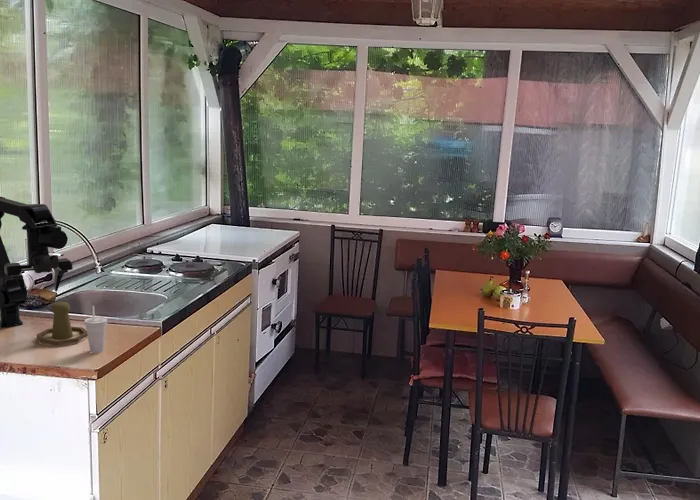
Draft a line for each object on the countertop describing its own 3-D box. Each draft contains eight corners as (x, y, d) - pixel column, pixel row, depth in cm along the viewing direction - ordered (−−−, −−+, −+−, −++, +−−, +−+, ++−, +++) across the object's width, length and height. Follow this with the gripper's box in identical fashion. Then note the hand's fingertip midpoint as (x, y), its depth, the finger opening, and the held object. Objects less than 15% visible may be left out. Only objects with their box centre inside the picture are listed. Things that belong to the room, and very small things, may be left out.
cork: (76, 334, 204) (75, 300, 201) (66, 340, 198) (64, 306, 196) (58, 332, 204) (56, 299, 202) (47, 338, 198) (45, 304, 196)
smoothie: (85, 348, 194) (83, 303, 191) (108, 346, 196) (106, 302, 193) (85, 355, 188) (83, 309, 185) (108, 353, 190) (106, 308, 188)
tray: (33, 335, 203) (33, 330, 202) (80, 328, 211) (80, 323, 210) (43, 349, 192) (43, 344, 191) (92, 341, 200) (91, 336, 200)
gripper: (8, 252, 188) (12, 303, 191) (75, 247, 199) (78, 295, 202) (2, 245, 197) (5, 294, 200) (67, 240, 208) (69, 287, 211)
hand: (40, 293), depth 203 cm, fingers open, 9 cm apart
